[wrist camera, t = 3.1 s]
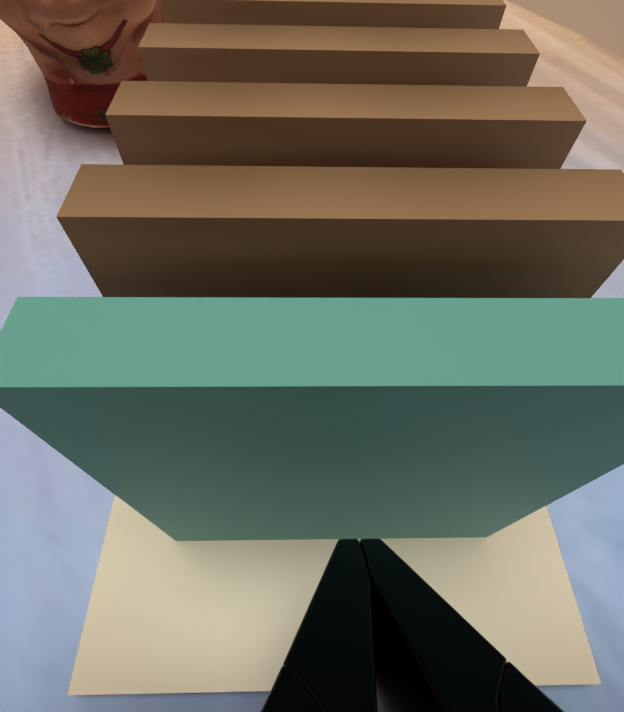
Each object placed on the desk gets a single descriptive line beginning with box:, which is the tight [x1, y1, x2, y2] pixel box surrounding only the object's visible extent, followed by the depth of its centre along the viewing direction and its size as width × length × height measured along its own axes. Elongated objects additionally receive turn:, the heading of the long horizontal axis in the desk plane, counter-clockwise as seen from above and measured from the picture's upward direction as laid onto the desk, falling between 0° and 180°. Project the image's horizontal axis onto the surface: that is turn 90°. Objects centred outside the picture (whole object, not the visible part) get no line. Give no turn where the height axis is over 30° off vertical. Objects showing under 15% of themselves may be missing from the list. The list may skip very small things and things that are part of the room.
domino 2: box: [138, 23, 540, 87], centre depth 17 cm, size 2×11×11 cm, turn 91°
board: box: [67, 495, 601, 695], centre depth 20 cm, size 24×16×1 cm, turn 1°
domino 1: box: [162, 0, 506, 29], centre depth 19 cm, size 2×11×11 cm, turn 91°
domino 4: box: [0, 297, 624, 541], centre depth 11 cm, size 2×11×11 cm, turn 91°
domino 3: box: [57, 164, 624, 298], centre depth 13 cm, size 2×11×11 cm, turn 91°
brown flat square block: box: [105, 81, 586, 169], centre depth 15 cm, size 2×11×11 cm, turn 91°
